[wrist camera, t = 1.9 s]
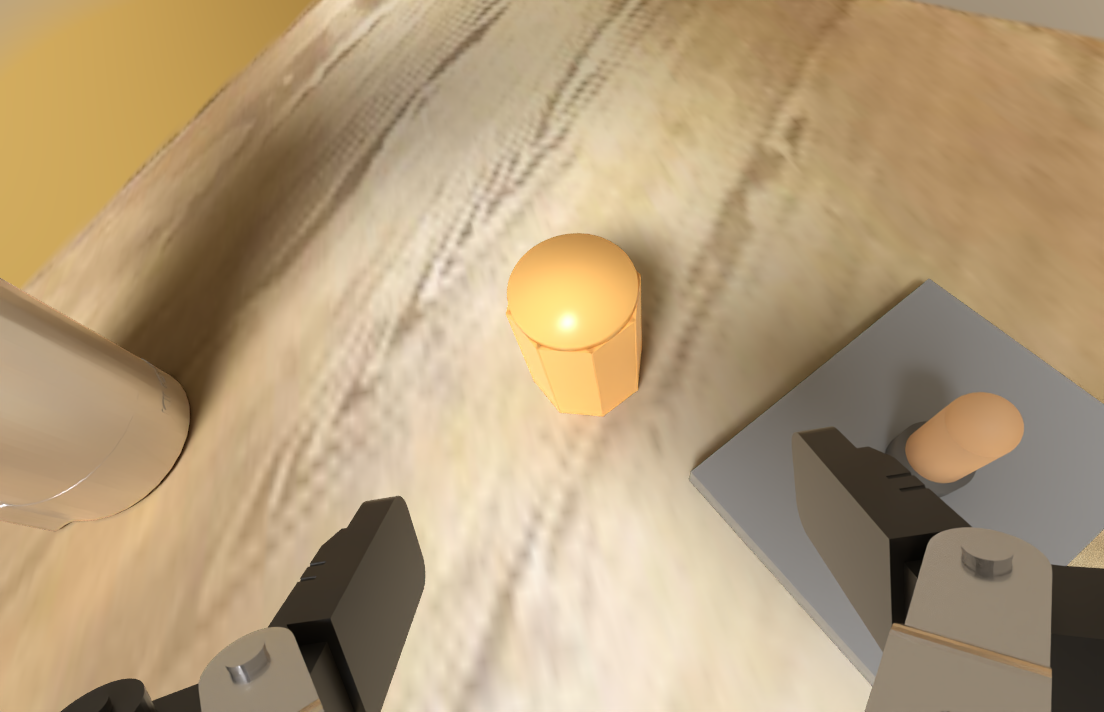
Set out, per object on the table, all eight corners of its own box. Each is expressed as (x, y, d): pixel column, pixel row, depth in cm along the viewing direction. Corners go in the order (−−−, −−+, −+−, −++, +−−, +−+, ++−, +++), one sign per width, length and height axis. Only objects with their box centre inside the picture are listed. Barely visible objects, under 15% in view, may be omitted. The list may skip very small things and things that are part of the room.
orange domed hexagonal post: (578, 436, 30) (558, 371, 23) (517, 360, 33) (481, 282, 26) (662, 372, 31) (666, 291, 24) (596, 303, 34) (583, 212, 27)
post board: (896, 713, 23) (1004, 741, 16) (688, 479, 28) (702, 425, 21) (1150, 466, 26) (1336, 400, 19) (916, 294, 31) (995, 191, 24)
